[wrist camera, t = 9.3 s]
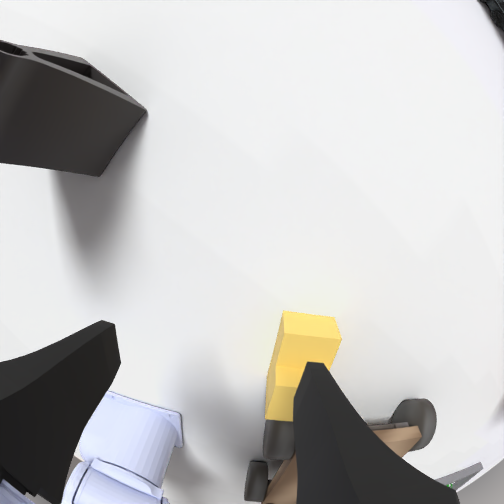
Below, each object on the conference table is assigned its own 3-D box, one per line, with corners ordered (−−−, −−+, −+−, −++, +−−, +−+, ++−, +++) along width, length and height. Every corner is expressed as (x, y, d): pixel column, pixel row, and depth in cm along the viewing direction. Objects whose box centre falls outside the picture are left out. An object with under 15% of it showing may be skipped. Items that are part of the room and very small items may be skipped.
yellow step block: (266, 375, 22) (264, 419, 18) (283, 309, 20) (285, 351, 15) (310, 380, 22) (316, 422, 18) (333, 316, 20) (347, 357, 15)
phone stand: (148, 111, 16) (13, 76, 5) (101, 176, 18) (-33, 209, 6) (84, 58, 14) (-26, 24, 3) (46, 116, 16) (-66, 118, 5)
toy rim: (378, 514, 40) (379, 520, 38) (423, 483, 33) (425, 491, 31) (435, 497, 40) (437, 503, 38) (480, 462, 33) (483, 468, 30)
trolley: (246, 471, 29) (236, 557, 15) (276, 384, 23) (271, 539, 9) (354, 472, 29) (365, 549, 15) (423, 387, 22) (471, 494, 8)
